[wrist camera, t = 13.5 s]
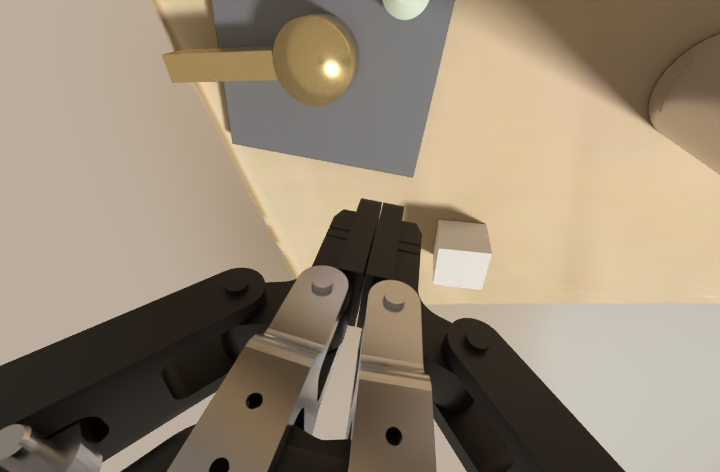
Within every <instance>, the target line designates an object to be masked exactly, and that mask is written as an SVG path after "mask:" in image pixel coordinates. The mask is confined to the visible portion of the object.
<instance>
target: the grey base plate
mask: <svg viewBox="0 0 720 472" xmlns="http://www.w3.org/2000/svg"><path fill="white" fill-rule="evenodd" d="M454 2H455V0H212V6H213V13H214V20H215V27H216V34H217V41H218V48H228V47H251V46H274V42H275V39H276V37H277V35H278V33H279V32H280V30H281V29H282V28H283V27H284V26H285V25H286V24H287V23H288V22H289V21H291V20H293V19H296V18H299V17H303V16H306V15H310V14H314V13H327V14H331V15H334V16H335V17H337V18H339V19H340V20H342V21H343V22H344V23H345V24H346V25H347V26H348V27H349V28H350V30H351V31H352V33H353V35H354V37H355V39H356V42H357V45H358V49H359V67H358V71H357V74H356V76H355V78H354V80H353V81H352V83H351V84H350V85H349V86H348V88H347V89H346V90H345V91H344V92H343V93H342V95H341V96H340V97H339V98H338V99H336V100H335V101H334V102H332V103H330V104H328V105H325V106H318V107H315V106H308V105H305V104H302V103H300V102H298V101H297V100H295V99H294V98H292V97H291V96H290V95H289V94H288V93H287V92H286V91H285V90H284V88H283V87H282V85H281V84H280V82H279V80H264V81H223V82H224V89H225V96H226V102H227V109H228V116H229V123H230V130H231V137H232V143H233V144H237V145H242V146H247V147H253V148H258V149H263V150H269V151H274V152H279V153H285V154H290V155H295V156H301V157H306V158H311V159H316V160H322V161H327V162H332V163H338V164H343V165H348V166H354V167H359V168H364V169H370V170H375V171H380V172H386V173H391V174H396V175H401V176H407V177H412V178H413V175H414V171H415V167H416V163H417V159H418V154H419V150H420V146H421V142H422V137H423V133H424V129H425V125H426V121H427V116H428V112H429V108H430V104H431V99H432V95H433V91H434V87H435V83H436V78H437V74H438V70H439V66H440V61H441V57H442V53H443V49H444V45H445V40H446V36H447V32H448V28H449V23H450V19H451V15H452V11H453V6H454Z"/></svg>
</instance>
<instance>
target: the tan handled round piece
mask: <svg viewBox="0 0 720 472" xmlns="http://www.w3.org/2000/svg"><path fill="white" fill-rule="evenodd" d="M162 57H163V59H164V62H165V65H166V67H167V70H168V72H169V75H170V78H171V81H172V82H173V83H174V82H219V81H264V80H279V82H280V84H281V85H282V87H283V88H284V90H285V91H286V92H287V93H288V94H289V95H290V96H291V97H292V98H294V99H295V100H297V101H298V102H300V103H302V104H305V105H308V106H315V107H318V106H325V105H328V104H330V103H332V102H334V101H335V100H336V99H338V98H339V97H340V96H341V95H342V93H343V92H344V91H345V90H346V89H347V88H348V86H349V85H350V84H351V83H352V81H353V80H354V78H355V76H356V74H357V71H358V67H359V49H358V45H357V42H356V39H355V37H354V35H353V33H352V31H351V30H350V28H349V27H348V26H347V25H346V24H345V23H344V22H343V21H342V20H340V19H339V18H337V17H335V16H334V15H331V14H327V13H314V14H310V15H306V16H303V17H299V18H296V19H293V20H291V21H289V22H288V23H287V24H286V25H285V26H284V27H283V28H282V29H281V30H280V32H279V33H278V35H277V37H276V39H275V42H274V46H251V47H228V48H205V49H182V50H178V51H174V52H171V53H167V54H163V55H162Z"/></svg>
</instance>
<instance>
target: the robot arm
mask: <svg viewBox="0 0 720 472" xmlns="http://www.w3.org/2000/svg"><path fill="white" fill-rule="evenodd" d="M649 117H650V121H651V123H652V125H653V126H654V128H655V129H656V130H657V131H659V132H660V133H661V134H662V135H664V136H665V137H667V138H668V139H670V140H671V141H673V142H674V143H675V144H677V145H678V146H680V147H681V148H682V149H684V150H685V151H687V152H688V153H689V154H691V155H692V156H694V157H695V158H697V159H698V160H699V161H701V162H702V163H704V164H705V165H707V166H708V167H710V168H711V169H712V170H714V171H715V172H717V173H718V174H720V34H718V35H716V36H713V37H711V38H708V39H706V40H704V41H703V42H701V43H699V44H697V45H696V46H694V47H692V48H691V49H689V50H688V51H687V52H685V53H684V54H683V55H681V56H680V57H679V58H678V59H677V60H676V61H675V62H674V63H673V64H672V65H671V66H670V67H669V68H668V69H667V70H666V71H665V72H664V74H663V75H662V76H661V78H660V79H659V80H658V82H657V84H656V86H655V88H654V90H653V92H652V95H651V98H650V101H649ZM381 205H382V202H378V201H373V200H368V199H363V198H361V200H360V203H359V206H358V209H357V211H356V212H354V211H349V210H342V211H341V212H340V213H338V214H337V215H336V216H334V218H333V220H332V223H331V225H330V228H329V229H328V232H327V234H326V236H325V238H324V241H323V243H322V245H321V247H320V250H319V252H318V254H317V256H316V259H315V261H314V263H313V265H312V267H310V268H308V269H306V270H305V271H303V272H302V273H301V274H300V275H299V277H298V278H297V279H295V280H292V281H286V282H269V283H265V281H264V278H263V277H262V275H261V274H260V273H258V272H257V271H255V270H253V269H249V268H234V269H230V270H227V271H224V272H222V273H220V274H217V275H215V276H212V277H210V278H208V279H205V280H203V281H200V282H198V283H196V284H193V285H191V286H189V287H186V288H184V289H182V290H179V291H177V292H174V293H172V294H170V295H167V296H165V297H163V298H160V299H158V300H155V301H153V302H151V303H148V304H146V305H144V306H142V307H139V308H136V309H134V310H132V311H129V312H127V313H125V314H122V315H120V316H117V317H115V318H113V319H111V320H108V321H106V322H103V323H101V324H99V325H96V326H94V327H92V328H89V329H87V330H84V331H82V332H80V333H77V334H75V335H72V336H70V337H68V338H65V339H63V340H61V341H58V342H56V343H53V344H51V345H49V346H46V347H44V348H42V349H39V350H37V351H34V352H32V353H30V354H28V355H25V356H23V357H20V358H18V359H16V360H13V361H11V362H8V363H6V364H4V365H1V366H0V472H99V470H100V468H101V464H102V462H104V461H105V460H107V459H108V458H110V457H111V456H113V455H115V454H117V453H118V452H120V451H121V450H123V449H125V448H126V447H128V446H129V445H131V444H132V443H134V442H136V441H137V440H139V439H141V438H142V437H144V436H145V435H147V434H149V433H150V432H152V431H153V430H155V429H157V428H158V427H160V426H162V425H163V424H165V423H166V422H168V421H170V420H171V419H173V418H174V417H176V416H177V415H179V414H181V413H182V412H184V411H186V410H187V409H189V408H190V407H192V406H194V405H195V404H197V403H199V402H200V401H202V400H203V399H205V398H207V397H208V396H210V395H211V394H213V393H215V392H216V391H217V392H216V394H215V395H214V397H213V398H212V400H211V401H210V403H209V405H208V406H207V408H206V409H205V411H204V413H203V415H202V416H201V418H200V419H199V421H198V422H197V424H195V425H193V426H190V427H188V428H186V429H184V430H183V431H181V432H179V433H177V434H175V435H173V436H172V437H170V438H169V439H167V440H166V441H164V442H163V443H162V444H160V445H159V446H157V447H156V448H154V449H153V450H151V451H150V452H149V453H147V454H146V455H144V456H143V457H141V458H140V459H138V460H137V461H135V462H134V463H133V464H131V465H130V466H128V467H127V468H125V469H124V470H122V471H121V472H436V456H435V437H434V421H433V418H434V420H435V421H436V423H437V424H438V426H439V428H440V429H441V431H442V432H443V434H444V435H445V437H446V439H447V441H448V442H449V444H450V445H451V447H452V449H453V450H454V452H455V453H456V455H457V457H458V458H459V460H460V461H461V463H462V464H463V466H464V468H465V469H466V471H467V472H625V471H624V470H623V469H622V468H621V467H620V466H619V465H618V463H617V462H616V461H615V460H614V459H613V458H612V457H611V456H610V455H609V453H608V452H607V451H606V450H605V449H604V448H603V447H602V446H601V445H600V444H599V443H598V441H597V440H596V439H595V438H594V437H593V436H592V435H591V434H590V433H589V432H588V431H587V430H586V428H585V427H584V426H583V425H582V424H581V423H580V422H579V421H578V420H577V419H576V418H575V417H574V415H573V414H572V413H571V412H570V411H569V410H568V409H567V408H566V407H565V406H564V405H563V404H562V402H561V401H560V400H559V399H558V398H557V397H556V396H555V395H554V394H553V393H552V392H551V390H549V388H548V387H547V386H546V385H545V384H544V383H543V382H542V381H541V379H540V378H539V377H538V376H537V375H536V374H535V373H534V372H533V371H532V370H531V369H530V368H529V367H528V365H527V364H526V363H525V362H524V361H523V360H522V359H521V358H520V357H519V356H518V354H517V353H516V352H515V351H514V350H513V349H512V348H511V347H510V346H509V345H508V344H507V343H506V342H505V341H504V339H503V338H502V337H501V336H500V335H499V334H498V333H497V332H496V331H495V330H494V329H493V328H491V326H489V325H487V324H486V323H484V322H482V321H479V320H476V319H472V318H462V319H458V320H456V321H454V322H453V323H451V322H449V321H447V320H445V319H443V318H441V317H439V316H437V315H435V314H434V313H432V312H431V311H430V310H429V309H428V308H427V307H426V306H425V305H424V304H423V302H422V301H421V299H420V297H419V293H418V282H419V267H420V253H421V238H422V234H421V232H420V230H419V228H418V226H417V224H415V223H410V222H405V221H402V217H403V210H404V206H399V205H394V204H388V203H383V206H382V210H381ZM380 211H381V214H380ZM379 216H380V218H379ZM360 302H361V304H360ZM359 306H360V310H359ZM358 310H359V317H358V323H357V327H360V328H362V331H361V337H360V343H359V348H358V353H357V361H356V368H355V376H354V384H353V390H352V398H351V405H350V413H349V420H348V426H347V432H346V439H344V440H320V439H318V438H315V437H314V436H312V433H313V429H314V426H315V422H316V417H317V414H318V410H319V407H320V404H321V401H322V398H323V395H324V392H325V390H326V387H327V384H328V381H329V379H330V376H331V373H332V370H333V367H334V365H335V362H336V359H337V356H338V354H339V351H340V347H341V343H342V342H343V339H344V336H345V332H346V328H347V325H350V326H355V322H356V318H357V314H358Z"/></svg>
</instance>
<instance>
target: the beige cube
mask: <svg viewBox="0 0 720 472" xmlns="http://www.w3.org/2000/svg"><path fill="white" fill-rule="evenodd" d="M491 256H492V251H491V246H490V241H489V235H488V230H487V225H486V224H479V223H468V222H457V221H446V220H439V222H438V228H437V234H436V241H435V247H434V253H433V284H437V285H445V286H454V287H462V288H470V289H478V290H481V289H482V285H483V282H484V279H485V276H486V272H487V269H488V266H489V262H490V259H491Z"/></svg>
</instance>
